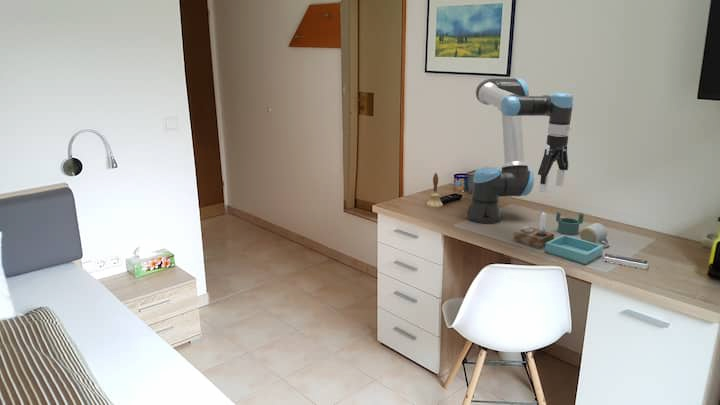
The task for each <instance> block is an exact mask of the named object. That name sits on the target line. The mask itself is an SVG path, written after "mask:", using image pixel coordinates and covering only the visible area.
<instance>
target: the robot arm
mask: <svg viewBox="0 0 720 405" xmlns="http://www.w3.org/2000/svg"><path fill="white" fill-rule="evenodd" d="M529 95H530V92H529V87H528V84H527V82H526V81H525V80H524V79H523V78H522V79H521V78H515V77H513V78H512V77H511V78H495V77H494V78H487V79H484V80H483V81H481V82H480V83H479V84H478V85H477V87H476V90H475V97H476V99H477V100H478V101H479V102H480V103H481V104H483V105H487V106H489V105H491V106H493V107H495V108H497V110H498V111H499V112H501V120H502V121H501V122H502V123H501V126H502V141H503V142H502V143H503V154H504V155H503V156H504V159H503V160H504V164H503V165H502V166H501V168H500V167H497V166H485V167H480V168H477V170H475V171H474V174H473V179H472V182H473V183H472V194H471V202H470V205H469V208H468V209H467V212H466V219H467V220H469V221H470V222H474V223H479V224H495V223H496V224H497V223H499V222H500V221H501V220H502V219H501V216H502V214H501V210H500V206H499V197H524V196H528V195H529V194H530V193H531V192H532V190H533V188H534V183H535V176H534V175H535V174H534V172H533V171H532V170H531V169H529V165H528V164H527V163H525V154H524V153H525V152H524V139H523V138H524V136H523V122H522V121H523V120H522V116H524V117H525V116H527V117H528V116H529V117H530V116H531V117H536V116H538V117H539V116H540V117H542V116H543V117H545V116H546V117H549V119H548V120H549V121H548V127H547V137H546V145H548V146H549V148H545V149H544V155H543V157H542V160H541V162H540V166H539V168H538V172H537V175H538V176H540V181H539V188H538V190H539V191H538V192H540V193H543V194H547V192H548V183H549V178H550V177H549V173H550V171H551V168H553V165H554V163H555V162H556V163H557V166H558V169H557V171H556V179H555V186H556V187H561V188H562V187H564V180H565V175H566V174H565V172H566V171H568V170H569V159H568V141H569V133H570V130H571V127H570V124H571V118H572V113H573V106H574V96H573V94H571V93H566V92H565V93H564V92H554V93H553V94H552V96H551V95H548V94H546V95H545V94H543V95H535V96H532V95H530V96H529Z"/></svg>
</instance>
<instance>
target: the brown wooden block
mask: <svg viewBox="0 0 720 405" xmlns="http://www.w3.org/2000/svg"><path fill="white" fill-rule="evenodd" d="M537 233H538V228H535V227H532V226H526V225H525V226H522V227H521V228H520V229H517V230H515V231H514V232H513V239H512V241H514V242H516V243H519V244H523V245H526V246H529V247H533V248H535V249H539V250H541V249H543V248H544V249H545V246H546V242H549V241H551V240H553V239H555V233H553V232H550V231H546V230H545V236H544V237H541V236H538V235H537Z"/></svg>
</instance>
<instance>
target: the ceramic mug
mask: <svg viewBox="0 0 720 405" xmlns="http://www.w3.org/2000/svg"><path fill="white" fill-rule="evenodd" d="M579 237H580V239H581V240H585V241H588V242H592V243H596V244H599V245H603V249H605V248H608V247H609V246H610V244H611V243H610V241H609V239H608V238H607V237H608V231H607V229H606V227H605V226H604V225H603V224H602V223H600V222H599V223H598V222H594V223H591V224H590V225H588V226H585V227H584V228H582V230H581V231H580V235H579ZM603 241H604V242H605V243H606V244H603V243H602V242H603Z"/></svg>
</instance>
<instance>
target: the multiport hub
mask: <svg viewBox="0 0 720 405" xmlns="http://www.w3.org/2000/svg"><path fill="white" fill-rule="evenodd" d="M603 255H604V256H603V261H607V262H606V263H608V262H613V263H618V264H622V265H621V266H624V265H626V267H629V266H631V267H630V268H635V267H637V268H636V269H640V268H642V269H641V270H645V269H647V270H648V267H649V266H648V265H649V260H645V259H640V258H634V257H629V256H628V257H627V256H623V255H615V254H611V253H606V252H605V253H604V254H603ZM603 261H602V262H603ZM613 263H612V264H613ZM618 264H617V265H618Z"/></svg>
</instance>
